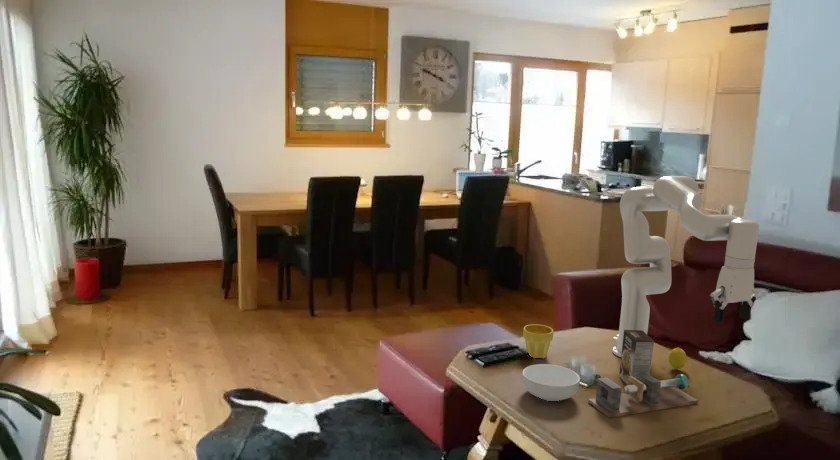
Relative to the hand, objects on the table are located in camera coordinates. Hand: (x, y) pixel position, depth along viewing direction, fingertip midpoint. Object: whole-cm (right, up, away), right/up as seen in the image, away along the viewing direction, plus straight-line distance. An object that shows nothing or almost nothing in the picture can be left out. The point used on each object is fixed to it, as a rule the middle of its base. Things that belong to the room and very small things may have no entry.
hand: (731, 319), depth 187 cm
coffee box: (-22, -23, +20) cm, 37 cm away
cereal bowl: (-52, -24, +7) cm, 57 cm away
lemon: (-4, -21, +31) cm, 38 cm away
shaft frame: (-24, -25, +5) cm, 35 cm away
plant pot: (-50, -18, +38) cm, 65 cm away
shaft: (-20, -23, +6) cm, 31 cm away
